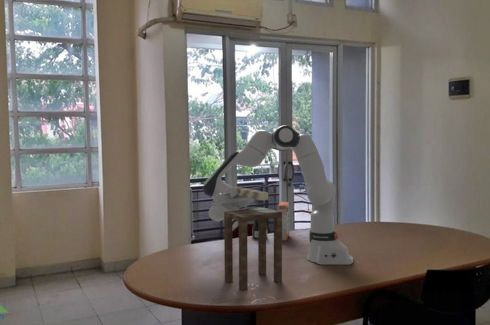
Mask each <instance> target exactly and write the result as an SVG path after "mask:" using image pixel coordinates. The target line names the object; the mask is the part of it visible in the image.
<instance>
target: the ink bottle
mask: <svg viewBox="0 0 490 325" xmlns="http://www.w3.org/2000/svg"><path fill="white" fill-rule="evenodd" d="M253 224H254V225H253V226H251V227H252V229H251V231H252V233H251V234H252V236H251V238H252V239H255V240H258V220H254V221H253ZM267 238H268V226H267V225H266V239H267Z"/></svg>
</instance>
